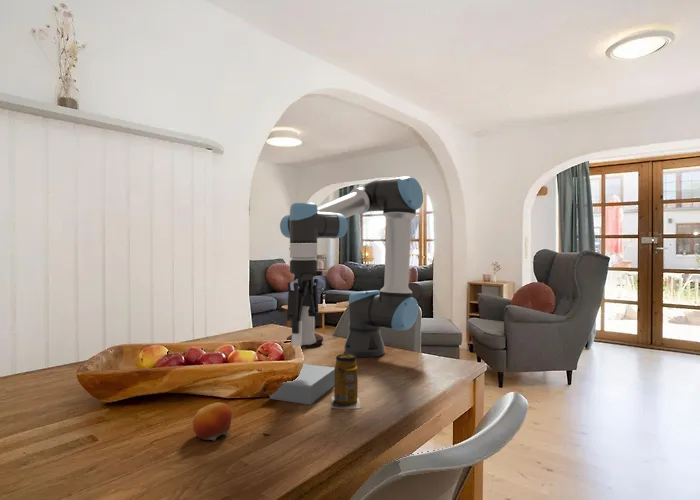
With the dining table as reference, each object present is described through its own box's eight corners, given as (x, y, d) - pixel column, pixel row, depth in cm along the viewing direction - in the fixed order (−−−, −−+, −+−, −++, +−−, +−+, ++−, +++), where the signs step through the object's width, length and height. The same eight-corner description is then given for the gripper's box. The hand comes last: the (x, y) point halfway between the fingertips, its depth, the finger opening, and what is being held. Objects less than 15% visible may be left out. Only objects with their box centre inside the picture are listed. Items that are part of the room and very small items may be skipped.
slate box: (297, 379, 129) (297, 363, 129) (336, 384, 125) (336, 367, 125) (268, 398, 114) (268, 380, 114) (311, 405, 109) (311, 385, 109)
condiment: (358, 396, 115) (358, 352, 115) (360, 409, 107) (360, 361, 107) (331, 397, 115) (331, 352, 115) (331, 409, 107) (331, 361, 106)
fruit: (216, 442, 86) (202, 404, 88) (194, 454, 90) (181, 417, 92) (246, 427, 93) (232, 392, 95) (224, 439, 96) (212, 404, 98)
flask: (314, 346, 115) (314, 308, 115) (287, 345, 116) (287, 308, 115) (318, 340, 122) (318, 305, 122) (293, 339, 123) (293, 304, 123)
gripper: (307, 257, 129) (307, 333, 129) (272, 260, 111) (272, 349, 111) (330, 258, 126) (330, 335, 127) (298, 260, 108) (298, 351, 108)
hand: (303, 341), depth 119 cm, fingers closed on flask, 7 cm apart
